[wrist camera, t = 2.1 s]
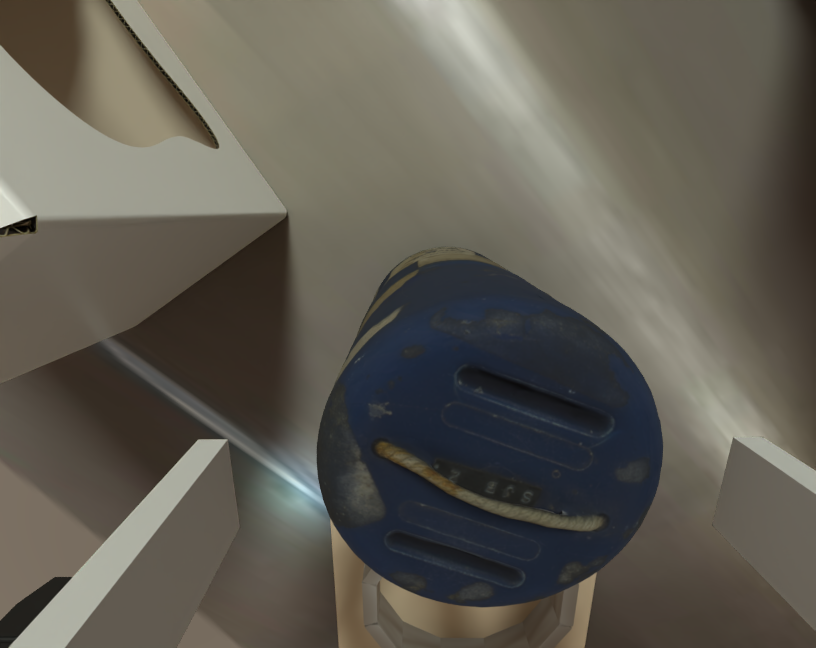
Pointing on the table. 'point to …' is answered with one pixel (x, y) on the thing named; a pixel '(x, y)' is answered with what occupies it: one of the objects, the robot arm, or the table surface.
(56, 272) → the gable box
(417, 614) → the ring holder board
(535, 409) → the canister
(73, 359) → the table surface
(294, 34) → the table surface
